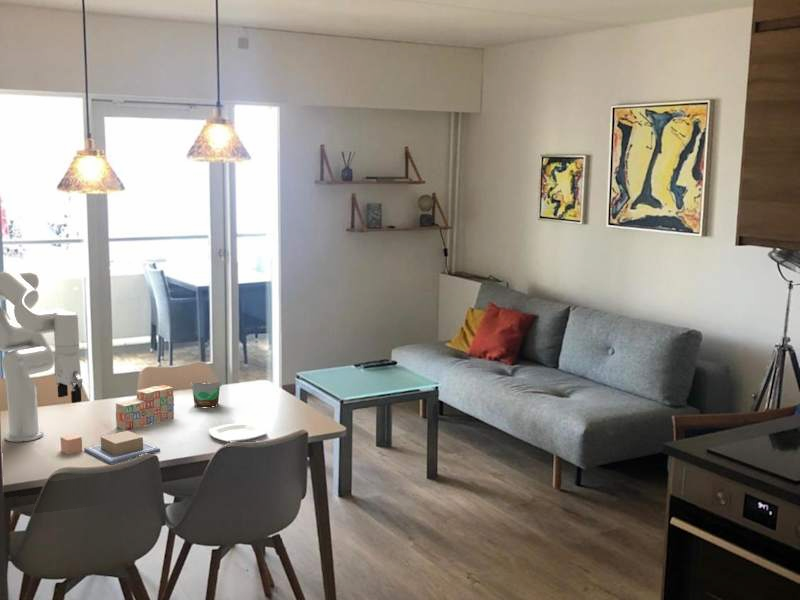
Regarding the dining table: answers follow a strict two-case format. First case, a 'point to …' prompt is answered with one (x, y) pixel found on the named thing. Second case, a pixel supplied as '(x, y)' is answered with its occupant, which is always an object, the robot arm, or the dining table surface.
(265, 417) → the dining table surface
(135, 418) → the stack of blocks
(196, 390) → the food container
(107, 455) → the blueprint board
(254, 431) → the plate
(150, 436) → the dining table surface
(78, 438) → the terracotta cube
